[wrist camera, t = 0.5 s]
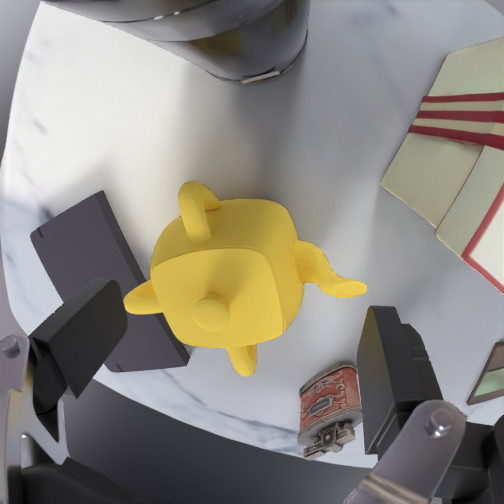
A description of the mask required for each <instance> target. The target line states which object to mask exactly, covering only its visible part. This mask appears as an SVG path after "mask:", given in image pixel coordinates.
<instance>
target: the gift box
mask: <svg viewBox="0 0 504 504" xmlns="http://www.w3.org/2000/svg"><path fill="white" fill-rule="evenodd" d="M380 184H381V186H382V187H383V188H384V189H386V190H387V191H389V192H390V193H391V194H393V195H394V196H396V197H397V198H398V199H400V200H401V201H402V202H404V203H405V204H406V205H408V206H409V207H410V208H412V209H413V210H414V211H416V212H417V213H418V214H419V215H420V216H422V217H423V218H424V219H425V220H427V221H428V222H429V223H430V224H431V225H432V226H434V227H435V228H436V230H435V235H436V237H437V238H438V239H439V240H440V241H441V242H443V243H444V244H445V245H446V246H447V247H448V248H449V249H450V250H451V251H452V252H454V253H455V254H456V255H457V256H458V257H459V258H461V259H462V260H463V261H464V262H465V263H466V264H468V265H469V266H470V267H471V268H473V269H474V270H475V271H476V272H478V273H479V274H480V275H481V276H483V277H484V278H485V279H486V280H487V281H489V282H490V283H491V284H492V285H493V286H494V287H496V288H497V289H498V290H499V291H500V292H501V293H502V294H503V295H504V37H502V38H498V39H494V40H491V41H487V42H484V43H480V44H477V45H474V46H470V47H467V48H464V49H461V50H458V51H454V52H450V53H448V54H447V55H446V57H445V60H444V62H443V64H442V66H441V68H440V70H439V73H438V75H437V77H436V79H435V81H434V83H433V85H432V87H431V89H430V91H429V93H428V95H427V96H424V97H423V99H422V102H421V106H420V110H419V113H418V115H417V117H416V119H415V120H414V122H413V123H412V124H411V126H410V128H409V130H408V134H407V136H406V137H405V139H404V141H403V143H402V144H401V146H400V148H399V150H398V152H397V153H396V155H395V157H394V159H393V160H392V162H391V164H390V165H389V167H388V169H387V171H386V172H385V174H384V176H383V178H382V179H381V181H380Z"/></svg>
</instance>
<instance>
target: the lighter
mask: <svg viewBox="0 0 504 504" xmlns="http://www.w3.org/2000/svg"><path fill="white" fill-rule="evenodd" d="M356 375H357V368H356V365H355V364H354V363H353V362H351V361H342V362H339V363H337V364H335V365H333V366H331V367H329V368H327V369H326V370H324V371H322V372H320V373H319V374H317V375H316V376H315V377H313V378H312V379H311V380H309V381H308V382H307V383H306V384H305V385H304V386H303V387H301V389H300V399H301V413H300V432H299V433H298V443H300V444H301V445H304V446H308V447H306V448H304V452H303V457H304V458H305V459H306V460H313V459H315V458H317V457H320V456H322V455H325V454H326V453H327V452H329V451H333V452H335V453H337V452H339V451H341V450H342V448H343V446H344V445H345V444H347V443H349V442H351V441H353V440H355V431H354V429H353V428H354V427H356V426H357V425H359V424H360V423H361V422H362V421H363V417H362V409H361V404H360V397H359V391H358V384H357V378H356Z"/></svg>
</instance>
